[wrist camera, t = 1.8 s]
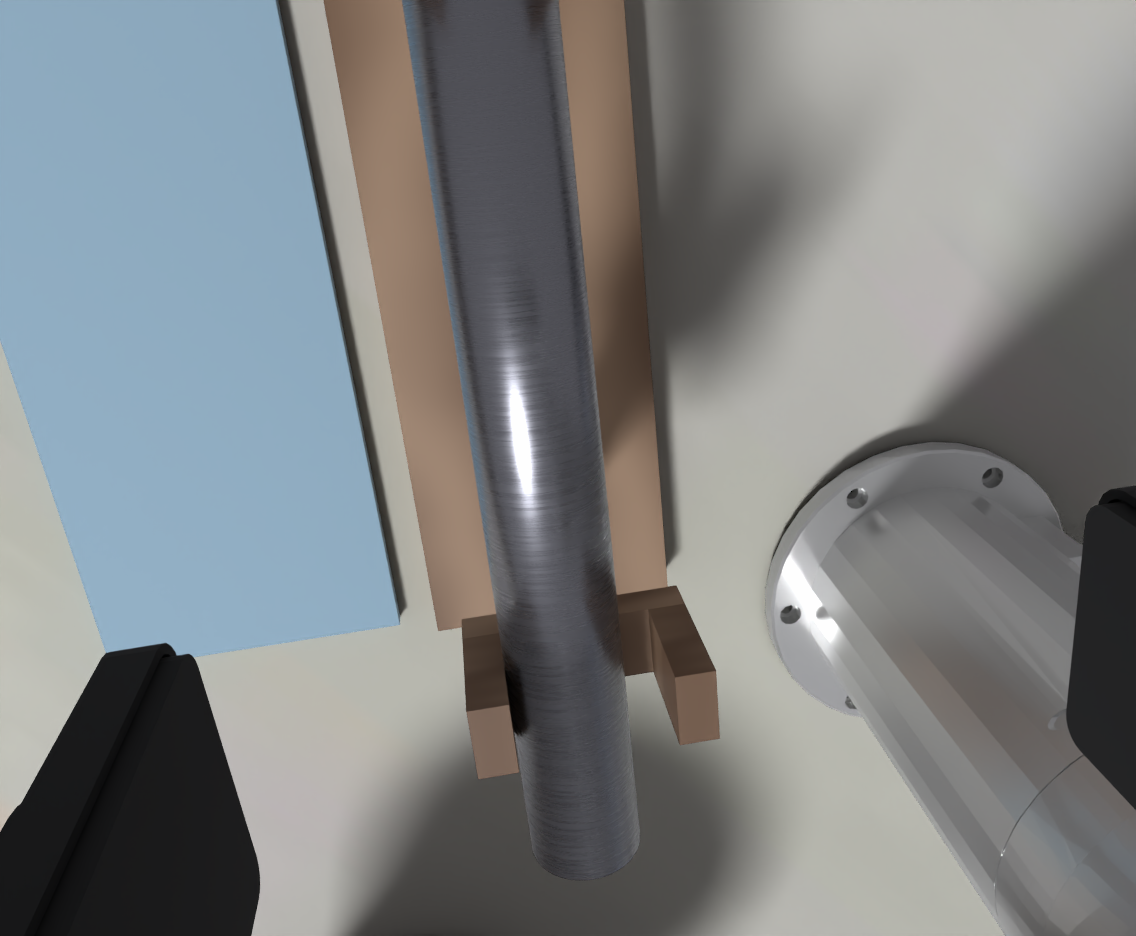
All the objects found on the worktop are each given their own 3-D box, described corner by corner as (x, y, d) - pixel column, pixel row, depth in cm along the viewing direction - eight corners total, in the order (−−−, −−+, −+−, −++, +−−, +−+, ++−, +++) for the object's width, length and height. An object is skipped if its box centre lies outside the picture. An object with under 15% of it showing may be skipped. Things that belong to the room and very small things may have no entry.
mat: (199, -398, 27) (194, -408, 26) (400, 616, 39) (399, 624, 39) (-228, -365, 26) (-242, -375, 25) (116, 661, 39) (112, 669, 38)
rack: (595, -255, 29) (746, -540, 15) (660, 576, 40) (782, 851, 26) (286, -227, 29) (150, -498, 15) (438, 611, 40) (441, 912, 26)
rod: (372, -409, 18) (299, -483, 15) (531, -445, 17) (483, -529, 15) (545, 796, 29) (520, 875, 26) (647, 803, 28) (631, 884, 26)
